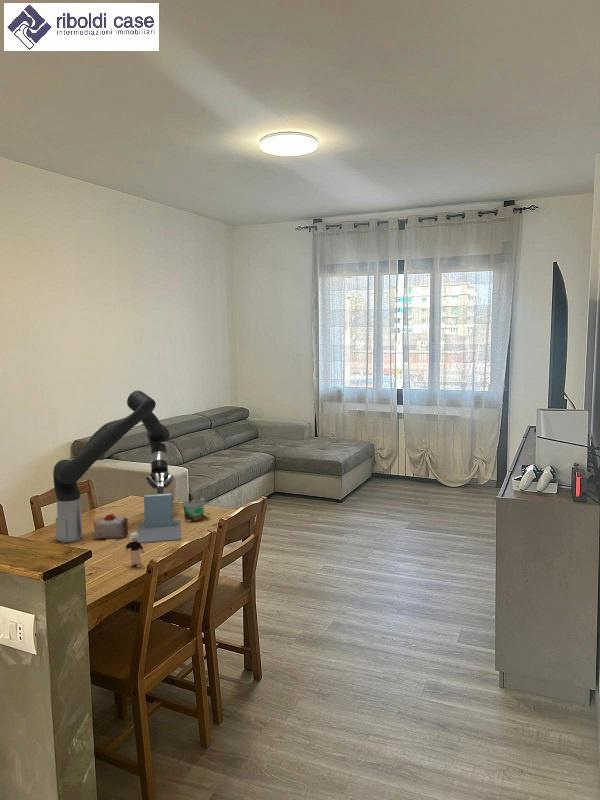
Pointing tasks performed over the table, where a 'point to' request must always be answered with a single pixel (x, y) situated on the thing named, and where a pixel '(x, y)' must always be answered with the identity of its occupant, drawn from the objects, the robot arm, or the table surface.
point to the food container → (194, 510)
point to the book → (158, 510)
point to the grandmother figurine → (135, 549)
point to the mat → (159, 533)
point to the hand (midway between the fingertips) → (160, 495)
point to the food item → (110, 527)
